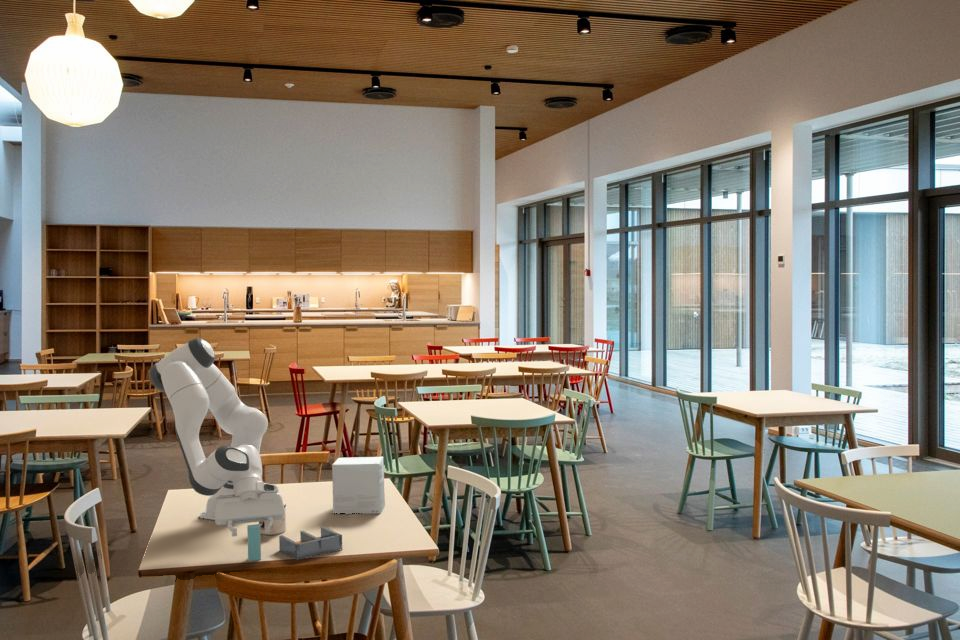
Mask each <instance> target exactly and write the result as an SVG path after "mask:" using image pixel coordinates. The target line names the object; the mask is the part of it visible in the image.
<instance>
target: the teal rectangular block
mask: <svg viewBox="0 0 960 640" xmlns="http://www.w3.org/2000/svg"><path fill="white" fill-rule="evenodd" d="M246 528H247V559H248V562H254V561H255V562H256V561H261V560H262V551H261V549H262V548H261V546H262V545H261V533H260V524H259V523H257V524H248V525H247V527H246Z"/></svg>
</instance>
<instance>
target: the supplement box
mask: <svg viewBox="0 0 960 640" xmlns="http://www.w3.org/2000/svg"><path fill="white" fill-rule="evenodd" d="M331 469H332V470H331V473H332V477H331V478H332V514H333V515H340V513H345V514H344V515H353V514H352V513H355V514H354V515H357V514H358V513H360V514H359V515H364V514H365V515H370V514H371V515H372V514H374V515H375V514H381V513H382V511H383V510H384V508H385V505H386V499H385V498H386V497H385V495H386V494H385V492H386V491H385V464H384V456H358V457H357V456H355V457H352V456H351V457H338V458H337V459H336V460H335V461H334V463H332V464H331ZM334 513H335V514H334ZM336 513H337V514H336ZM356 513H357V514H356ZM361 513H362V514H361Z"/></svg>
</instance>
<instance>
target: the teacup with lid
mask: <svg viewBox="0 0 960 640" xmlns="http://www.w3.org/2000/svg"><path fill="white" fill-rule="evenodd" d="M283 504H284V510H285V514H284V517H283V519H282V520H273V524H272V525H271V527H270V533H265V526H267V525H268V521H262V522H258V524H260V535H263V536H264V535H265V536H274V535H281V534H282V533H285V532H286V530H287V522H286V521H287V520H286V517H287V516H286V514H287V513H286V507H287V504H286V502H285V501H283Z"/></svg>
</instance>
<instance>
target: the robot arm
mask: <svg viewBox="0 0 960 640" xmlns="http://www.w3.org/2000/svg"><path fill="white" fill-rule="evenodd" d="M215 358H216V354H215V351H214V349H213V347H212V345H211V344H210V343H209V342H208V341H206V339H204V338H200V337H196V338H195V337H194V338H193V339H190V340H189V341H188V342H186V343H184V344H182V345H180V346H179V347H176V348H175V349H173V350H171V352H169V353H168V354H167V355H166V356H164V357H163V358H162V359H160V360H159V361H158V362H155V363H154V364H153V365H152V366H151V367H150V368H149V372H148V376H149V380H150V382H151V384H152V385H153V386H154V388H155V389H156V390H157V391H159V392H162V393H165V394H166V397H167V398H168V401H169V403H170V405H171V408H172V411H173V415H174V429H175V430H174V431H175V434H176V439H177V441H178V444H179V448H180V450H181V453H182V456H183V458H184V462H185V465H186V468H187V473H188V479H189V483H190V486H191V488H192V489H193V490H194V491H195V492H196V493H198V494H199V495H202V496H205V497H206V496H208V499H207V502H206V505H205V510H203V511H201V512H200V513H199V517H200V518H199V519H203V518H204V519H205V520H212V521H214V523H215V524H216V525H217V526H225V525H227V528H228V529H229V531H230V532H231V537H238V530H237V529H238V528H234V527H233V525H238V524H248V523H259V522H262V521H268V525H267V526H265V533H270V527H271V525H272V524H273V520H282V519H283V517H284V514H285V510H286V509H285V510H284V504H283V502H284V500H283V497H282V495H281V494H279V493H280V492H279V487H278V485H276V484H272V483H267V482H264V481H263V479H262V477H263V464H262V458H261V454H260V451H261V445H262V440H263V436H264V435H265V433H267V431H268V430H267V429H268V426H269V420H268V418H267V416H266V415H265V413H263V412H262V411H261V410H259V409H258V408H256V407H251V406H248V405H246V404H245V403H244V402H242V401H241V399H240V398H239V396H238V393H237V391H236V388H235V386H234V385H233V384H232V382H230V381H229V379H228V378H227V377H226V376H225V375H224V373H223V372H222V371H221V370H220V369H219V368H218V367H217V366H216V365H215V364H214V362H215ZM209 411H210V412H211V414H212V416H213V418H214V419H215V421H216V422H217V425H218V426H219V428H220V429H221V430H222V431H224V432H225V433H226V434H229V435H231V443H230V446H229V445H221V446H219V447H217V448H216V449H215V450H214V451H213V452H211V454H209V456H208V457H206V455H205V453H204V450H203V447H202V444H201V442H200V430H201V428H202V427H201V426H202V424H203V422H204V420H205V418H206V416H207V414H208V412H209Z"/></svg>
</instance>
